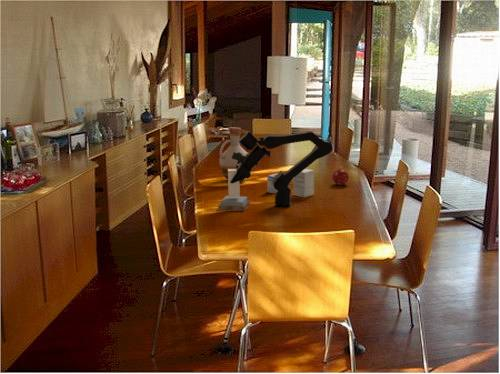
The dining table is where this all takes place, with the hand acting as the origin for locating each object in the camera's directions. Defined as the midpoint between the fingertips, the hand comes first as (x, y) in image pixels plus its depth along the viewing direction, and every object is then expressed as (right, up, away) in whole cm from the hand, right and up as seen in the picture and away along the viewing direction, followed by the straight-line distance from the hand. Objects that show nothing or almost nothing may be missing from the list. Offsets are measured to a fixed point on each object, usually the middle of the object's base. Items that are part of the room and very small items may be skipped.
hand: (230, 181), depth 243 cm
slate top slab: (+2, -10, +2) cm, 10 cm away
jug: (0, 0, +54) cm, 54 cm away
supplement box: (+35, -7, +23) cm, 43 cm away
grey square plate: (+1, -12, +3) cm, 13 cm away
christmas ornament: (+57, -1, +43) cm, 72 cm away
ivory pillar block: (+1, -6, +2) cm, 7 cm away
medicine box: (+22, -5, +31) cm, 38 cm away
